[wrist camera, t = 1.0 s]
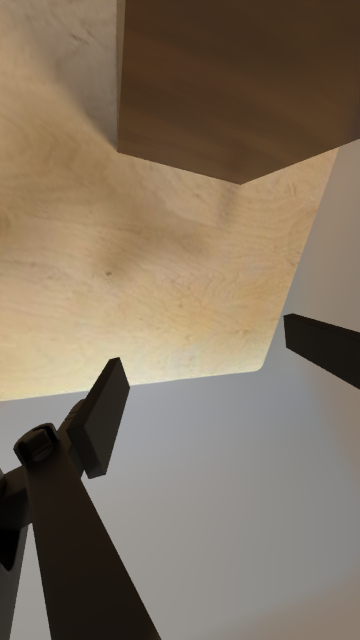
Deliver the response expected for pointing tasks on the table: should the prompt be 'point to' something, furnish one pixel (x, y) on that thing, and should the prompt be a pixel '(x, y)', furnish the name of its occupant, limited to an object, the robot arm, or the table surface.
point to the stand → (236, 82)
